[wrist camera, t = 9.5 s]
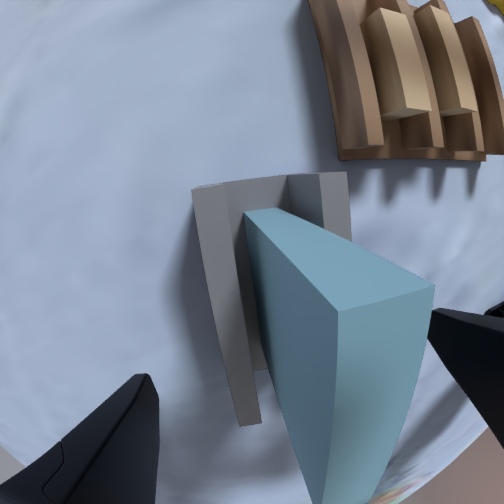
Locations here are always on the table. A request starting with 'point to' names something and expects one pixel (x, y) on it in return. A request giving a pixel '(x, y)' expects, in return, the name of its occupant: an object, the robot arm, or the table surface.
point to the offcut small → (395, 65)
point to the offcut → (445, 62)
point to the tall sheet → (336, 348)
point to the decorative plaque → (498, 4)
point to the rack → (430, 123)
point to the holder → (238, 262)
